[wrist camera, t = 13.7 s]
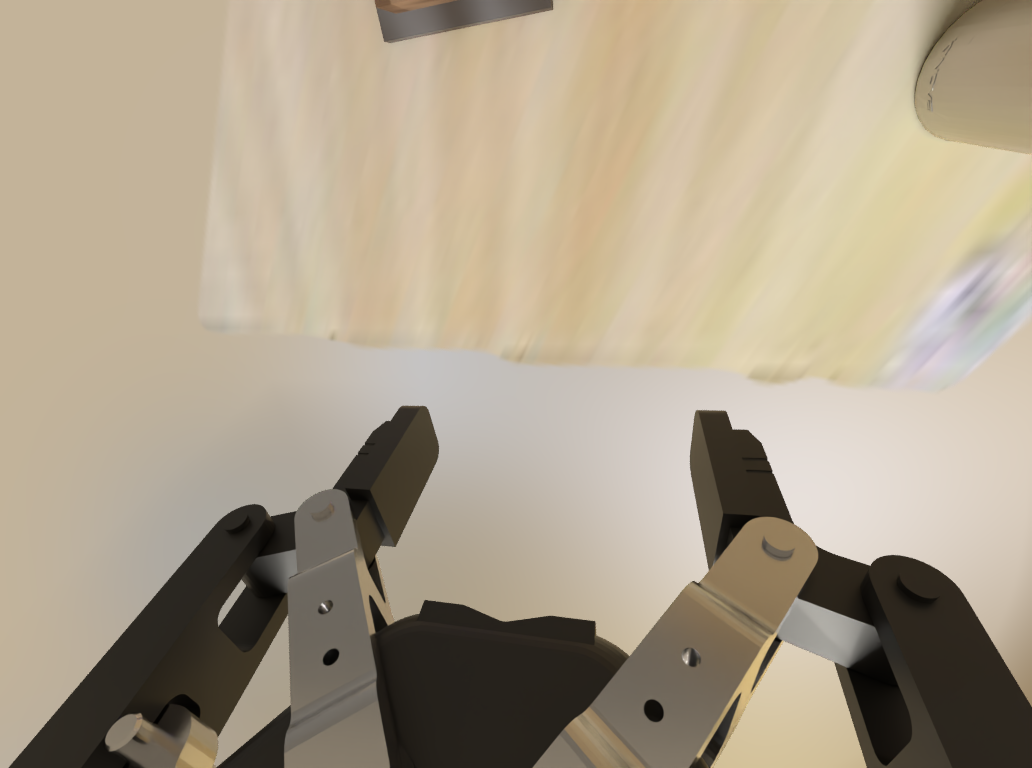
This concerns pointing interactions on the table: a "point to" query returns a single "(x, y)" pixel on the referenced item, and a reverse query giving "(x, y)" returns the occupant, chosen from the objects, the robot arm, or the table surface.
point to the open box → (447, 15)
